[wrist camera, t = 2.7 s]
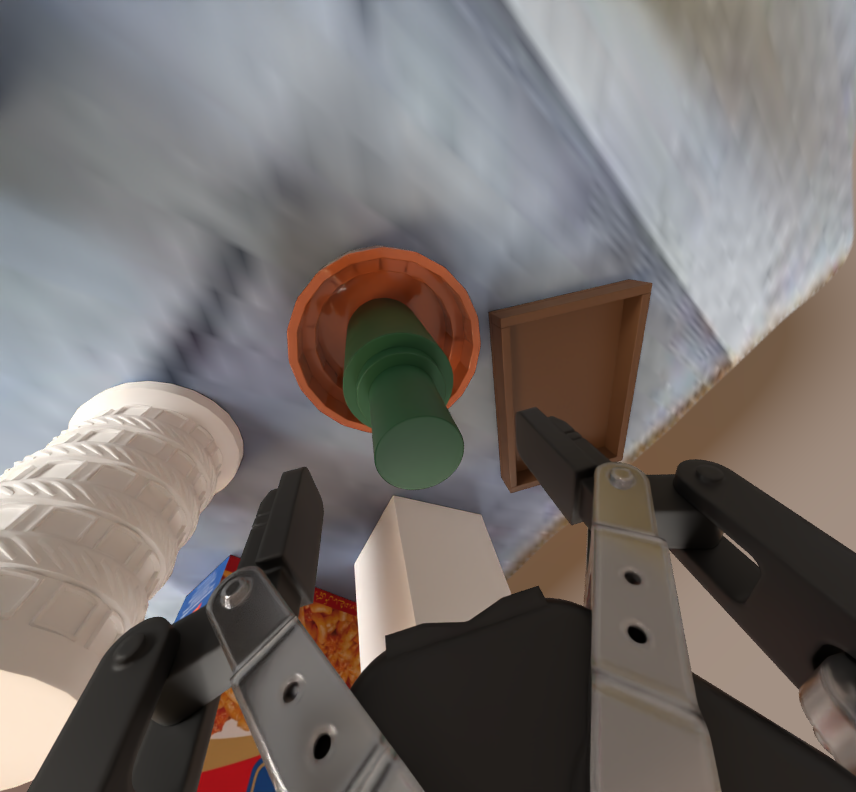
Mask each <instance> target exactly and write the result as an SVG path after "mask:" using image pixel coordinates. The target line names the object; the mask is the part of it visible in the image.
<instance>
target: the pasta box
mask: <svg viewBox="0 0 856 792" xmlns="http://www.w3.org/2000/svg"><path fill="white" fill-rule="evenodd" d="M239 562H240V558H237V557H235V556H232V555H230V556H229V557H228V558H227V559H226V560H225V561H224V562H222V563H221V564H220V565H219V566H218V567H217V568H216V569H215V570H214V571H213V572H212V573H211V574H210V575H209V576H208V577H207V578H206V579H204V580H203V581H202V582H201V583H200V584H199V585H198V586H197V587H196V588H195V589H194V590H193V591H192V592H191V593H190V594H189V595H187V596H186V598H185V601H184V603H183V605H182V607H181V609H180V611H179V613H178V616H177V618H176V620H175V622H177V621H179V620H180V619H182V618H184V617H186V616H187V615H189V614H191V613H193V612H194V611H196V610H198V609H200V608H201V607H203V606H205V605H206V604H207V603H208V600H209V598H210V596H211V594H212V592H213V591H214V589H215V588H216V587H217V586H218V585H219V584H220V583H221V582H222V581H223V580H224V579H225V578H226V577H227V576H229V575H230V574H231V573H233V572H235V571H236V570H237V567H238V565H239ZM298 619H299V620H300V622H301V623H302V624H303V626H304V627H305V629H306V630H307V631H308V633H309V634H310V635H311V637H312V638H313V639H314V641H315V642H316V644H317V645H318V646H319V648H320V649H321V650H322V652H323V653H324V655H325V656H326V657H327V659H328V660H329V661H330V663H331V664H332V666H333V667H334V668H335V670H336V671H337V672H338V674H339V675H340V676H341V678H342V679H343V681H344V682H345V683H346V685H347V686H348V687H349V689H350V688H351V687H352V685H353V684H354V682H355V681H356V679H357V678H358V677H359V675H360V674H361V666H360V650H359V633H358V617H357V603H356V602H353V601H351V600H348V599H345V598H343V597H340V596H337V595H335V594H332V593H330V592H327V591H324V590H322V589H319V588H316V587H315V591H314V600H313V604H310V605H306V606H303V607H300V611H299V617H298ZM175 622H174V623H175ZM197 792H276V790H275V788H274V786H273V783H272V781H271V779H270V777H269V774H268V772H267V770H266V767H265V765H264V763H263V760H262V758H261V756H260V753H259V751H258V749H257V746H256V744H255V742H254V739H253V737H252V735H251V732H250V730H249V728H248V725H247V723H246V721H245V718H244V716H243V714H242V711H241V709H240V707H239V704H238V702H237V700H236V697H235V695H234V693H233V690H232V688H229V689H228V690H227V691H225V692H224V693H222V694H221V697H220V701H219V705H218V709H217V713H216V717H215V721H214V725H213V729H212V733H211V737H210V741H209V745H208V749H207V753H206V757H205V761H204V765H203V769H202V773H201V777H200V781H199V785H198V789H197Z"/></svg>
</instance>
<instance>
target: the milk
mask: <svg viewBox="0 0 856 792" xmlns="http://www.w3.org/2000/svg"><path fill="white" fill-rule="evenodd" d="M354 567H355V584H356V600H357V617H358V633H359V650H360V666H361V673H362V671H363V670H364V669H365V668H366V667H367V666H368V665H369V664H370V663H371V662H372V661H373V660H374V659H375V658H376V657H377V656H379V655H380V654H381V653H382V652H384V651H385V650H386V644H385V635H389V634H392V633H395V632H398V631H401V630H404V629H407V628H410V627H413V626H416V625H419V624H422V623H441V622H466V621H469V620H470V619H472V618H473V617H475V616H476V615H478V614H479V613H481V612H482V611H483V610H485V609H486V608H488V607H489V606H491V605H492V604H494V603H495V602H496V601H498V600H499V599H501V598H502V597H505V596H509V595H512V594H511V592H510V589H509V587H508V584H507V581H506V579H505V576H504V573H503V571H502V568H501V566H500V563H499V560H498V558H497V555H496V552H495V550H494V547H493V545H492V542H491V539H490V537H489V534H488V531H487V529H486V526H485V524H484V521H483V518H482V516H481V515H480V514H475V513H471V512H466V511H462V510H457V509H453V508H448V507H444V506H439V505H435V504H430V503H426V502H421V501H417V500H412V499H408V498H403V497H399V496H394V495H393V496H392V498H391V500H390V501H389V503H388V505H387V507H386V509H385V510H384V512H383V514H382V516H381V518H380V519H379V521H378V523H377V525H376V526H375V528H374V530H373V532H372V534H371V535H370V537H369V539H368V541H367V543H366V544H365V546H364V548H363V550H362V551H361V553H360V555H359V557H358V559H357V560H356V562H355V564H354Z"/></svg>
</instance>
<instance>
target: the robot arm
mask: <svg viewBox="0 0 856 792" xmlns="http://www.w3.org/2000/svg"><path fill="white" fill-rule="evenodd" d="M515 425H516V445H517V450H518V453H519V455H520V457H521V459H522V460H523V462H524V463H525V464H526V466H527V467H528V468H529V470H530V471H531V472H532V474H533V475H534V476H535V478H536V479H537V480H538V482H539V483H540V484H541V486H542V487H543V488H544V490H545V491H546V492H547V494H548V495H549V496H550V498H551V499H552V500H553V502H554V503H555V504H556V506H557V507H558V508H559V510H560V511H561V512H562V514H563V515H564V516H565V518H566V519H567V520H568V522H569V523H570V524H571V525H574V524H577V523H580V522H584V523H585V525H586V526H587V527H588V533H587V552H586V553H587V554H586V574H585V592H584V605H583V606H582V605H579V604H576V603H573V602H570V601H566V600H561V599H554V598H545V597H544V596H543V594H542V592H541V590H540V588H539V586H536V587H533V588H530V589H527V590H524V591H521V592H518V593H515V594H512V595H509V596H505V597H502V598H501V599H499V600H498V601H496V602H495V603H494V604H492V605H491V606H489V607H488V608H486V609H485V610H483V611H482V612H481V613H479V614H478V615H476V616H475V617H473V618H472V619H470V620H469V621H466V622H441V623H422V624H419V625H416V626H413V627H410V628H407V629H404V630H401V631H398V632H395V633H392V634H389V635H385V644H386V650H385V651H384V652H382V653H381V654H380V655H379V656H377V657H376V658H375V659H374V660H373V661H372V662H371V663H370V664H369V665H368V666H367V667H366V668H365V669H364V670H363V671H362V673H361V674H360V675H359V677H358V678H357V679H356V681H355V682H354V684H353V685H352V687H351V688H350V689H349V687H348V686H347V685H346V683H345V682H344V681H343V679H342V678H341V676H340V675H339V674H338V672H337V671H336V670H335V668H334V667H333V666H332V664H331V663H330V661H329V660H328V659H327V657H326V656H325V655H324V653H323V652H322V650H321V649H320V648H319V646H318V645H317V644H316V642H315V641H314V639H313V638H312V637H311V635H310V634H309V633H308V631H307V630H306V629H305V627H304V626H303V624H302V623H301V622H300V620H299V619H298V617H299V611H300V607H303V606H306V605H310V604H313V600H314V591H315V583H316V575H317V566H318V558H319V549H320V541H321V532H322V524H323V515H324V508H323V502H322V498H321V496H320V494H319V491H318V489H317V487H316V485H315V483H314V481H313V478H312V476H311V474H310V472H309V470H308V468H307V467H302V468H298V469H295V470H291V471H287V472H284V473H283V474H282V477H281V480H280V483H279V486H278V489H274V490H271V491H270V492H269V493H268V495H267V496H266V497H265V498H264V500H263V501H262V502H261V504H260V506H259V509H258V512H257V515H256V518H255V520H254V523H253V526H252V527H253V529H251V531H250V534H249V537H248V540H247V542H246V545H245V548H244V551H243V554H242V556H241V559H240V562H239V565H238V567H237V570H236V571H235V572H233V573H231V574H230V575H229V576H227V577H226V578H225V579H224V580H223V581H222V582H221V583H220V584H219V585H218V586H217V587H216V588H215V589H214V591H213V592H212V594H211V596H210V598H209V600H208V603H207V604H206V605H205V606H203V607H201V608H200V609H198V610H196V611H194V612H193V613H191V614H189V615H187V616H186V617H184V618H182V619H180V620H179V621H177V622H175V623H173V624H172V625H171V624H170V623H169V622H168V621H167V620H166V619H165V618H163V617H153V618H149V619H147V620H144V621H142V622H140V623H138V624H137V625H135V626H134V627H132V628H131V629H129V630H128V631H127V632H125V633H124V634H123V635H122V636H121V637H120V638H119V639H118V640H117V641H116V642H115V643H114V644H113V645H112V646H111V647H110V648H109V649H108V651H107V652H106V653H105V655H104V656H103V657H102V659H101V661H100V662H99V664H98V666H97V668H96V669H95V671H94V673H93V675H92V677H91V678H90V680H89V682H88V684H87V685H86V687H85V689H84V691H83V693H82V694H81V696H80V698H79V700H78V702H77V703H76V705H75V707H74V709H73V710H72V712H71V714H70V716H69V718H68V719H67V721H66V723H65V725H64V726H63V728H62V730H61V732H60V734H59V735H58V737H57V739H56V741H55V743H54V744H53V746H52V748H51V750H50V751H49V753H48V755H47V757H46V759H45V760H44V762H43V764H42V766H41V768H40V769H39V771H38V773H37V775H36V776H35V778H34V780H33V782H32V784H31V785H30V787H29V789H28V791H27V792H197V789H198V785H199V781H200V777H201V773H202V769H203V765H204V761H205V757H206V753H207V749H208V745H209V741H210V737H211V733H212V729H213V725H214V721H215V717H216V713H217V709H218V705H219V701H220V697H221V694H222V693H224V692H225V691H227V690H228V689H229V688H232V690H233V693H234V695H235V697H236V700H237V702H238V704H239V707H240V709H241V711H242V714H243V716H244V718H245V721H246V723H247V725H248V728H249V730H250V732H251V735H252V737H253V739H254V742H255V744H256V746H257V749H258V751H259V753H260V756H261V758H262V760H263V763H264V765H265V767H266V770H267V772H268V774H269V777H270V779H271V781H272V783H273V786H274V788H275V790H276V792H856V553H855V552H853V551H852V550H850V549H849V548H847V547H846V546H844V545H843V544H841V543H840V542H838V541H837V540H835V539H834V538H832V537H831V536H829V535H828V534H826V533H825V532H823V531H822V530H820V529H819V528H817V527H815V526H814V525H813V524H811V523H810V522H808V521H807V520H805V519H804V518H802V517H801V516H799V515H798V514H796V513H795V512H793V511H792V510H790V509H789V508H787V507H786V506H784V505H783V504H781V503H780V502H778V501H777V500H775V499H774V498H772V497H771V496H769V495H768V494H766V493H765V492H763V491H762V490H760V489H759V488H757V487H755V486H754V485H753V484H751V483H749V482H748V481H747V480H745V479H744V478H742V477H741V476H739V475H738V474H736V473H735V472H733V471H731V470H730V469H728V468H726V467H724V466H722V465H720V464H717V463H714V462H710V461H706V460H696V459H695V460H686V461H683V462H682V463H680V464H679V465H678V467H677V470H676V474H671V475H670V474H669V475H645V474H644V473H643V472H642V471H641V470H639V469H638V468H636V467H634V466H632V465H629V464H626V463H621V462H611V461H610V460H609V459H608V458H607V457H606V456H604V455H603V454H602V453H601V452H600V451H599V450H598V449H596V448H595V447H594V446H593V445H592V444H591V443H589V442H588V441H587V440H586V439H585V438H583V437H582V436H581V435H580V434H579V433H578V432H577V431H575V429H573V428H572V427H571V426H570V425H569V424H568V423H567V422H565V421H563V420H561V419H558V418H556V417H554V416H550V417H547V416H546V415H545V414H544V413H542V412H541V411H540V410H539V409H538V408H537V407H533V408H529V409H526V410H522V411H518V412H516V414H515ZM723 533H726V534H727V535H728V536H729V537H730V538H731V539H733V540H734V541H735V542H736V543H737V544H738V545H740V546H741V547H742V548H743V549H744V550H745V551H747V552H748V553H749V554H750V555H751V556H752V557H753V558H754V560H755V561H756V562H757V564H758V566H759V567H758V566H757V565H756V564H755V563H754V562H753V561H751V560H750V559H749V558H748V557H747V556H746V555H745V554H743V553H742V552H741V551H740V550H739V549H737V548H736V547H735V546H734V545H733V544H732V543H731V542H729V541H728V540H727V539H726V538H725V537H724V536H723ZM669 550H670V551H671V552H672V553H673V554H674V555H675V557H676V558H677V559H678V560H679V561H680V562H681V563H682V564H683V565H684V566H685V567H686V568H687V569H688V570H689V572H690V573H691V574H692V575H693V576H694V577H695V578H696V579H697V580H698V581H699V582H700V583H701V585H702V586H703V587H704V588H705V589H706V590H707V591H708V592H709V593H710V594H711V595H712V596H713V598H714V599H715V600H716V601H717V602H718V603H719V604H720V605H721V606H722V607H723V608H724V609H725V611H726V612H727V613H728V614H729V615H730V616H731V617H732V618H733V619H734V620H735V621H736V622H737V623H738V625H740V627H741V628H742V629H743V630H744V631H745V632H746V633H747V634H748V635H749V636H750V637H751V639H753V641H754V642H755V643H756V644H757V645H758V646H759V647H760V648H761V649H762V650H763V651H764V653H765V654H766V655H767V656H768V657H769V658H770V659H771V660H772V661H773V662H774V663H775V664H776V665H777V667H778V668H779V669H780V670H781V671H782V672H783V673H784V674H785V675H786V676H787V677H788V679H789V680H790V681H791V682H792V683H793V684H794V685H795V686H796V687H797V688H798V689H799V699H800V703H801V706H802V709H803V711H804V713H805V715H806V717H807V718H808V720H809V721H810V723H811V725H812V726H813V731H814V734H815V736H816V738H817V739H818V741H819V742H820V744H821V745H822V746H823V747H824V748H825V749H826V750H827V751H828V752H829V753H830V754H831V755H833V757H834V759H835V761H834V760H833V759H832V758H830V757H829V756H827V755H825V754H824V753H822V752H821V751H819V750H817V749H816V748H814V747H813V746H811V745H809V744H808V743H806V742H805V741H803V740H801V739H800V738H798V737H796V736H795V735H793V734H792V733H790V732H788V731H787V730H785V729H783V728H782V727H780V726H779V725H777V724H775V723H774V722H772V721H771V720H769V719H767V718H766V717H764V716H762V715H761V714H759V713H758V712H756V711H754V710H753V709H751V708H750V707H748V706H746V705H745V704H743V703H741V702H740V701H738V700H737V699H735V698H733V697H732V696H730V695H728V694H727V693H725V692H723V691H722V690H720V689H719V688H717V687H716V686H714V685H712V684H711V683H709V682H707V681H706V680H704V679H702V678H701V677H699V676H698V675H696V674H694V673H693V672H692V671H691V666H690V661H689V655H688V650H687V645H686V639H685V634H684V629H683V623H682V618H681V612H680V607H679V602H678V596H677V591H676V585H675V580H674V575H673V569H672V564H671V559H670V553H669Z"/></svg>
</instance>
